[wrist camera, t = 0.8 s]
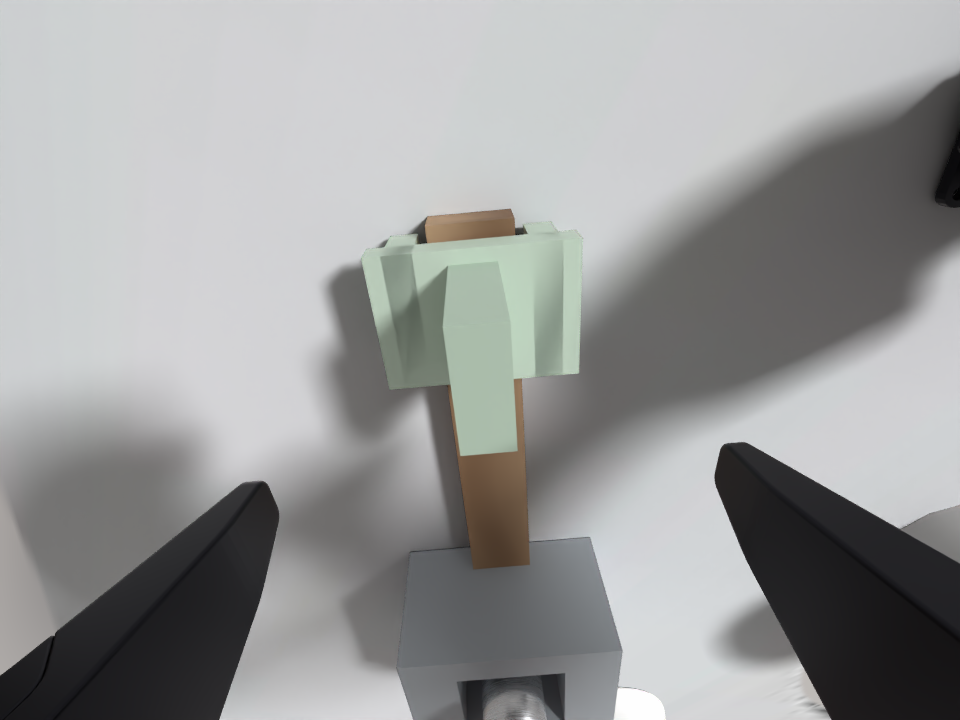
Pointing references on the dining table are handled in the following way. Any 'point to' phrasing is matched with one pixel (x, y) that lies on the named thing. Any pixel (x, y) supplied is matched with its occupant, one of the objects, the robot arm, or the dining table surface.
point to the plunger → (513, 698)
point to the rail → (497, 476)
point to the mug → (637, 705)
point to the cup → (939, 531)
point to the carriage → (478, 320)
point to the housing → (509, 632)
